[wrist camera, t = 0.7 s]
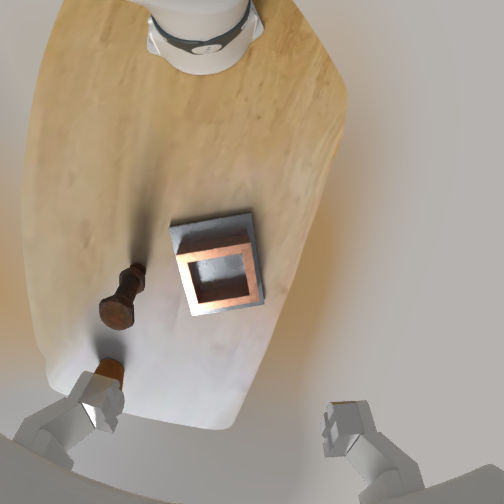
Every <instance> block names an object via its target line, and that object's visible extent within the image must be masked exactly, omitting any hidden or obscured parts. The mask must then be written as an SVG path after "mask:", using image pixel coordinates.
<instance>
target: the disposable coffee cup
mask: <svg viewBox="0 0 504 504" xmlns="http://www.w3.org/2000/svg"><path fill="white" fill-rule="evenodd" d="M94 373H95V374H98V375H102V376H105V377H109V378H112V379H116V380H119V383H120V388H119V389H120V390H121V391H122V386H123V377H124V368H123V366H122V365H121V364H120V363H119V362H117V361H115V360H113V359H103V360H102V361H101V362H100V364H99V366H98V367H97V369H96V371H95V372H94Z"/></svg>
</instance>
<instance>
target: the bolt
mask: <svg viewBox="0 0 504 504" xmlns="http://www.w3.org/2000/svg"><path fill="white" fill-rule="evenodd" d="M145 274H146V270H145V268H144V266H143V265H141V264H139V263H133V264H132V265H131V266H130V268H127V269H125V270H123V271H122V272H121V273H120V276H119V287H118V289H117V291H116V293H115V294H114V295H113V296H110V297H108V298H105V299H102V300H101V302H100V304H99V313H100V318H101V320H102V321H103V322H104V323H105V324H106V325H107V326H108V327H110V328H112V329H114V330H124V329H127V328H129V327H131V326H133V324H134V305H133V301H134V299H135V297H136V294H138V293H140V292H142V291H143V290H144V288H145Z"/></svg>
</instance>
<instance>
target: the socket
mask: <svg viewBox="0 0 504 504" xmlns="http://www.w3.org/2000/svg"><path fill="white" fill-rule="evenodd" d="M169 232H170V236H171V240H172V244H173V248H174V252H175V255H176V259H177V263H178V267H179V270H180V274H181V278H182V281H183V285H184V288H185V292H186V295H187V299H188V302H189V306H190V309H191V312H192V316H195V315H202V314H209V313H215V312H221V311H227V310H233V309H239V308H245V307H251V306H257V305H262V304H264V297H263V290H262V283H261V277H260V270H259V263H258V256H257V249H256V242H255V235H254V228H253V222H252V215H251V211H250V212H244V213H238V214H232V215H226V216H220V217H215V218H209V219H204V220H198V221H193V222H187V223H182V224H177V225H171V226H169Z"/></svg>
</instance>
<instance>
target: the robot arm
mask: <svg viewBox="0 0 504 504" xmlns="http://www.w3.org/2000/svg"><path fill="white" fill-rule="evenodd" d="M127 1H131V2H134V3H137V4H139V5H142V6H144V7H146V8H147V9H148V11H149V12H150V13H151V16H149V17H148V24H149V31H148V39H147V49H148V51H149V52H150V53H152V54H154V55H157V56H161V57H163V58H165V59H166V60H167V61H168V62H169V63H170V64H171V65H173V66H174V67H175V68H177V69H179V70H181V71H183V72H186V73H189V74H195V75H208V74H214V73H218V72H221V71H223V70H225V69H227V68H229V67H231V66H232V65H234V64H235V63H236V62H238V61H239V60H240V58H241V57H242V56H243V55H244V53H245V52H246V50H247V48H248V46H249V45H250V44H251V42H253V41H254V40H256V39H257V38H258V37H260V36H261V35H262V34H263V31H264V27H263V25H262V22H261V20H260V18H259V15H258V13H257V11H256V9H255V7H254V4H253V2H252V0H127ZM119 388H120V383H119V380H116V379H112V378H109V377H105V376H102V375H98V374H95V373H91V372H88V371H84V372H83V373H82V374H81V375H80V377H79V379H78V380H77V382H76V384H75V386H74V387H73V389H72V391H71V393H70V394H69V396H68V398H63V399H61V400H59V401H57V402H55V403H53V404H51V405H50V406H48V407H46V408H44V409H42V410H40V411H38V412H37V413H35V414H33V415H31V416H29V417H27V418H25V419H24V421H23V423H22V424H21V426H20V428H19V429H18V431H17V433H16V435H15V437H14V438H13V440H10V439H9V438H7V437H6V436H4V435H2V434H1V433H0V504H181V503H175V502H170V501H165V500H161V499H156V498H152V497H148V496H144V495H140V494H137V493H133V492H129V491H126V490H123V489H119V488H116V487H113V486H110V485H107V484H104V483H101V482H99V481H96V480H93V479H90V478H88V477H85V476H82V475H80V474H78V473H75V472H73V471H71V470H72V467H73V464H74V461H73V459H72V458H71V457H70V456H69V455H68V453H67V451H68V450H69V449H71V448H72V447H73V446H75V445H76V444H77V443H79V442H80V441H81V440H83V439H84V438H85V437H86V436H88V435H89V434H90V433H92V432H93V431H94V430H95V429H99V430H102V431H106V432H109V433H114V431H115V428H116V426H117V423H118V420H117V417H116V416H118V415H119V414H121V413H122V410H123V408H124V401H125V400H124V394H123V392H122V391H121V390H120V389H119ZM321 435H322V436H323V437H324V438H325V441H324V443H323V449H324V456H325V457H340V456H345V458H346V459H347V461H348V462H349V463H350V464H351V465H352V467H353V468H354V469H355V470H356V471H357V472H358V473H359V475H360V476H361V477H362V478H363V479H364V480H365V482H367V484H368V485H369V486H368V487H367V488H366V489H365V490H364V491H363V492H362V493H361V494H360V495H359V500H360V504H504V471H503V470H501V469H500V468H498V467H496V466H494V465H492V464H488V465H484V466H482V467H480V468H478V469H475V470H473V471H471V472H469V473H466V474H464V475H462V476H459V477H457V478H454V479H451V480H449V481H446V482H443V483H441V484H438V485H435V486H432V487H429V488H426V489H425V487H424V484H423V480H422V477H421V474H420V470H419V467H418V464H417V463H416V462H415V461H413V459H411V458H410V457H409V456H408V455H407V454H405V453H404V452H403V451H402V450H401V449H399V448H398V447H397V446H396V445H395V444H394V443H392V442H391V441H390V440H389V439H388V438H387V437H385V436H384V435H383V434H382V433H381V432H377V431H376V427H375V424H374V421H373V417H372V414H371V411H370V407H369V404H368V402H367V401H366V400H364V401H343V402H330V403H329V404H328V405H327V412H326V413H324V414H323V417H322V419H321Z"/></svg>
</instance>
